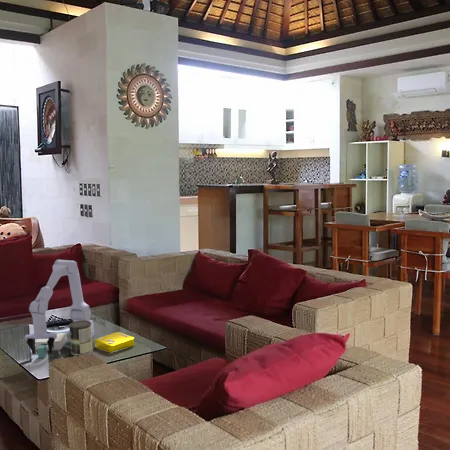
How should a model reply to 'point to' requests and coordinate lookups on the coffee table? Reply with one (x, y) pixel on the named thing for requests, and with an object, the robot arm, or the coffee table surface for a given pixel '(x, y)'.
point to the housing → (57, 343)
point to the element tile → (114, 342)
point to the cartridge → (42, 351)
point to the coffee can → (80, 337)
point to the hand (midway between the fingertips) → (42, 353)
